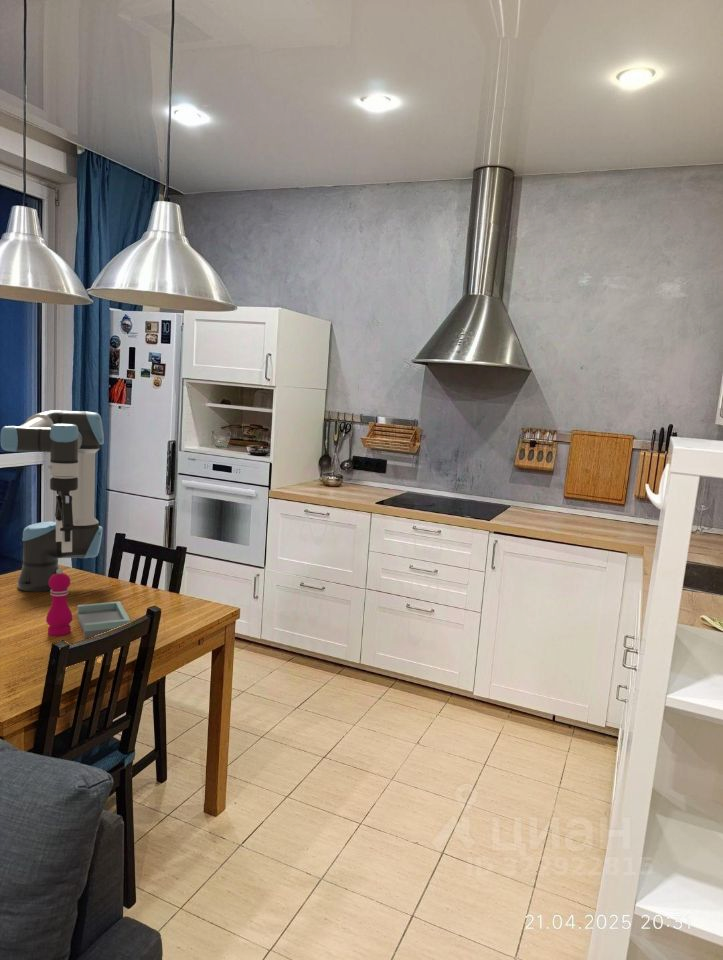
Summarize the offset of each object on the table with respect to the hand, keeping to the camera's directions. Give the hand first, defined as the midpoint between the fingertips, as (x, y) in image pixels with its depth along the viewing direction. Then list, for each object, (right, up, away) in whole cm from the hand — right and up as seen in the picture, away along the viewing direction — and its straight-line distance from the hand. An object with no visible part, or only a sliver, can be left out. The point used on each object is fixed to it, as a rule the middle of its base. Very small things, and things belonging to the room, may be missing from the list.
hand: (63, 546), depth 197 cm
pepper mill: (-3, -27, +3) cm, 27 cm away
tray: (+7, -26, +12) cm, 29 cm away
